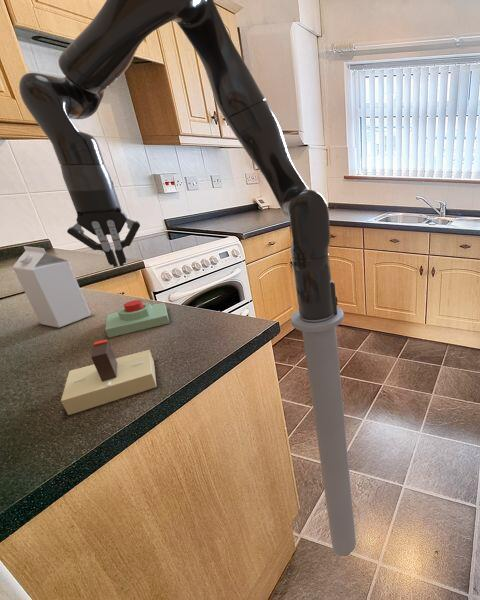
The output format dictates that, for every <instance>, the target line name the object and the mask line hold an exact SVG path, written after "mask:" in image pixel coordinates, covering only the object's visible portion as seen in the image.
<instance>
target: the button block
mask: <svg viewBox="0 0 480 600" xmlns="http://www.w3.org/2000/svg"><path fill="white" fill-rule="evenodd" d="M142 303H143V306H144V308H143V309H141V310H138V311H133V312H126V310H125V307H124V306H123V307H121V308H120V309H118V311H117V312H116V311H115V312H111V313H107V314H106V321H105V327H104V330H105V333H106V336H107V338H108V339H110V338H114V337H117V336H122V335H126V334H130V333H134V332H138V331H143V330H147V329H152V328H155V327H159V326H163V325H167V324H170V318H169V315H168V310H167V307H166V303H165V302H158V303H154V304H151V303H148V302H142Z"/></svg>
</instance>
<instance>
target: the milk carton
mask: <svg viewBox="0 0 480 600" xmlns="http://www.w3.org/2000/svg"><path fill="white" fill-rule="evenodd" d="M23 248H24V252H23V253H22V254H21V255H20V256H19V257H18V259H17V261H16V262H15V263H14V264H13V265H12V269H13V271H14V273H15V275H16V277H17V279H18V281H19V283H20V285H21V287H22V289H23V291H24V293H25V295H26V297H27V300H28V301H29V303H30V305H31V307H32V310H33V312H34V314H35V315H36V317H37V319H38V321H39V324H40V325H44V326H49V327H53V328H62V327H65V326H67V325H70V324H73V323H75V322H78V321H80V320H83V319H86V318H88V317H90V316H92V315H91V314H92V313H91V311H90V309H89V306H88V303H87V302H86V299H85V297H84V295H83V292H82V290H81V288H80V285H79V282H78V280H77V278H76V276H75V273H74V272H73V269H72V267H71V263H70V262H69V260H68V259H64V258H62V257H59V256H56V255H53V254H50V253H47V252H46V250H45V248H44V247H43V248H42V247H35V246H26V245H24V246H23Z"/></svg>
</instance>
